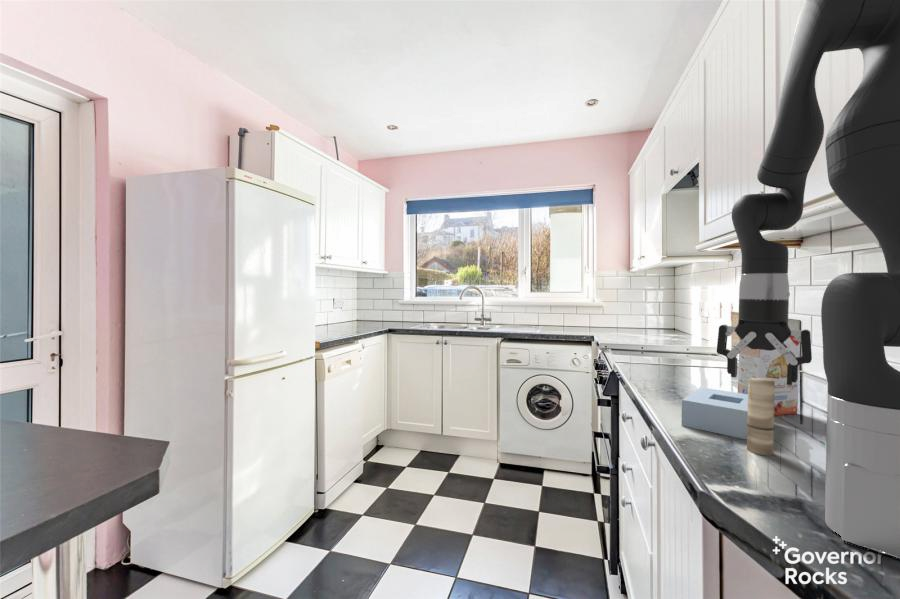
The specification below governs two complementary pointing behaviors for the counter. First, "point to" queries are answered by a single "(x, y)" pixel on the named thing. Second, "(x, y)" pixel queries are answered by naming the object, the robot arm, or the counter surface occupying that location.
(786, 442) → the counter surface
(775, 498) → the counter surface
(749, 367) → the cracker box
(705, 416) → the socket block
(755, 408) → the peg
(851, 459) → the robot arm
